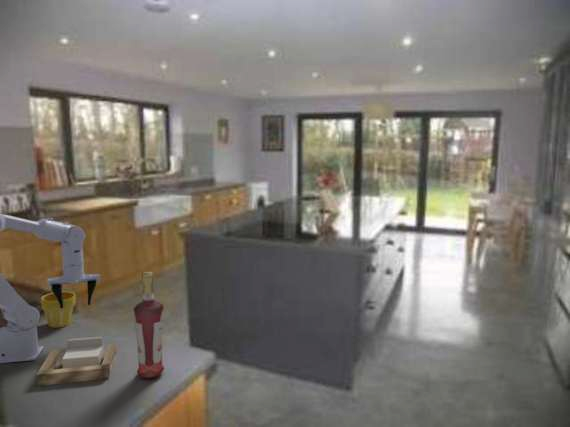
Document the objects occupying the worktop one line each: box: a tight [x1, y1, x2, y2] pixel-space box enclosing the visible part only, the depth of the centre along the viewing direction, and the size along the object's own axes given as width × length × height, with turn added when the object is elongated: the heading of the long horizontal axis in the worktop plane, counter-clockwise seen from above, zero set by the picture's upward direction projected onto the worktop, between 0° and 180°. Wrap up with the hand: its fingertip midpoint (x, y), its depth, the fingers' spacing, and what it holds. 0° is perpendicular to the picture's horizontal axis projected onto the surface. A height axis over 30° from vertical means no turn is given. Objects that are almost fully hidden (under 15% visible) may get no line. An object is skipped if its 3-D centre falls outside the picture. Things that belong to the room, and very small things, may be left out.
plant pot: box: [40, 290, 77, 329], centre depth 145 cm, size 10×10×10 cm
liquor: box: [133, 271, 165, 380], centre depth 113 cm, size 7×7×28 cm
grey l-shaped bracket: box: [61, 336, 104, 369], centre depth 119 cm, size 9×7×6 cm
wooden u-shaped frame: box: [36, 343, 118, 387], centre depth 117 cm, size 17×14×3 cm
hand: (75, 305), depth 135 cm, fingers open, 7 cm apart
